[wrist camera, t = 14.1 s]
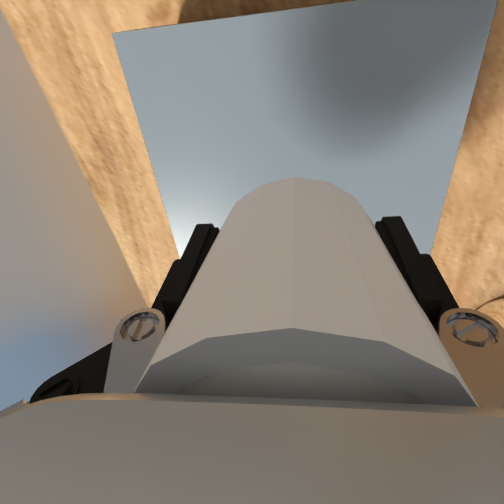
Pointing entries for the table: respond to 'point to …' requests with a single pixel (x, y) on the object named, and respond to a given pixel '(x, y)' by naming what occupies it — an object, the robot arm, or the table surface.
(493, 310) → the silver metal tumbler
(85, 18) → the table surface
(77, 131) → the table surface
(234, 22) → the lid
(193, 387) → the white cup
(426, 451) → the robot arm
